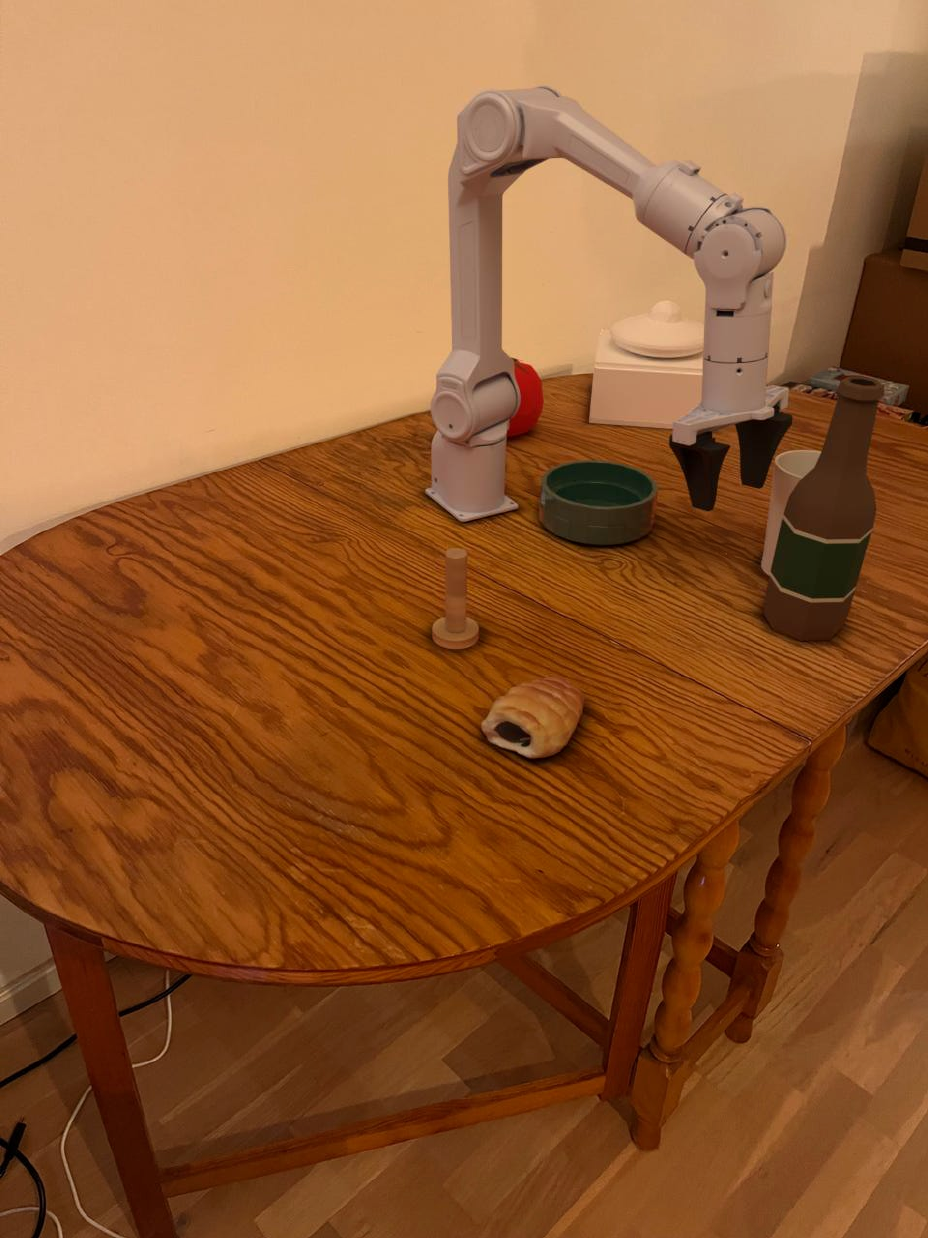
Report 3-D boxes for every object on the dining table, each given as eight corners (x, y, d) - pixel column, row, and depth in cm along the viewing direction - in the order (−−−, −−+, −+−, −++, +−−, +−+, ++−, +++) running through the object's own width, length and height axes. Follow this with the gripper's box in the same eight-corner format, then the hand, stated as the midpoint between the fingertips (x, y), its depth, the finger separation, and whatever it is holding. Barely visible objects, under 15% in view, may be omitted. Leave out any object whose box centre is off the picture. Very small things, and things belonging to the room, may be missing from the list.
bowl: (517, 512, 109) (519, 473, 106) (606, 490, 114) (610, 452, 112) (582, 559, 99) (586, 518, 97) (676, 533, 105) (682, 493, 102)
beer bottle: (843, 609, 91) (910, 372, 78) (844, 650, 85) (916, 401, 72) (763, 595, 93) (815, 362, 80) (758, 634, 87) (813, 389, 74)
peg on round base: (424, 631, 87) (422, 548, 82) (464, 619, 89) (465, 537, 84) (446, 654, 84) (446, 569, 79) (487, 641, 86) (489, 557, 81)
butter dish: (588, 422, 134) (598, 312, 125) (594, 383, 149) (603, 282, 140) (711, 431, 132) (730, 319, 123) (704, 390, 147) (720, 288, 138)
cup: (835, 592, 94) (864, 484, 88) (755, 583, 95) (778, 477, 89) (825, 555, 101) (851, 453, 94) (751, 548, 102) (771, 446, 95)
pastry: (534, 683, 80) (537, 647, 78) (603, 712, 77) (608, 675, 75) (474, 740, 74) (476, 702, 72) (546, 774, 71) (550, 736, 69)
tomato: (544, 449, 125) (549, 373, 119) (454, 448, 125) (454, 372, 119) (538, 415, 136) (542, 344, 131) (455, 414, 136) (456, 342, 131)
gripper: (719, 379, 76) (713, 529, 83) (821, 344, 84) (808, 485, 90) (655, 368, 81) (653, 510, 88) (756, 336, 89) (748, 470, 95)
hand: (727, 496), depth 89 cm, fingers open, 7 cm apart
